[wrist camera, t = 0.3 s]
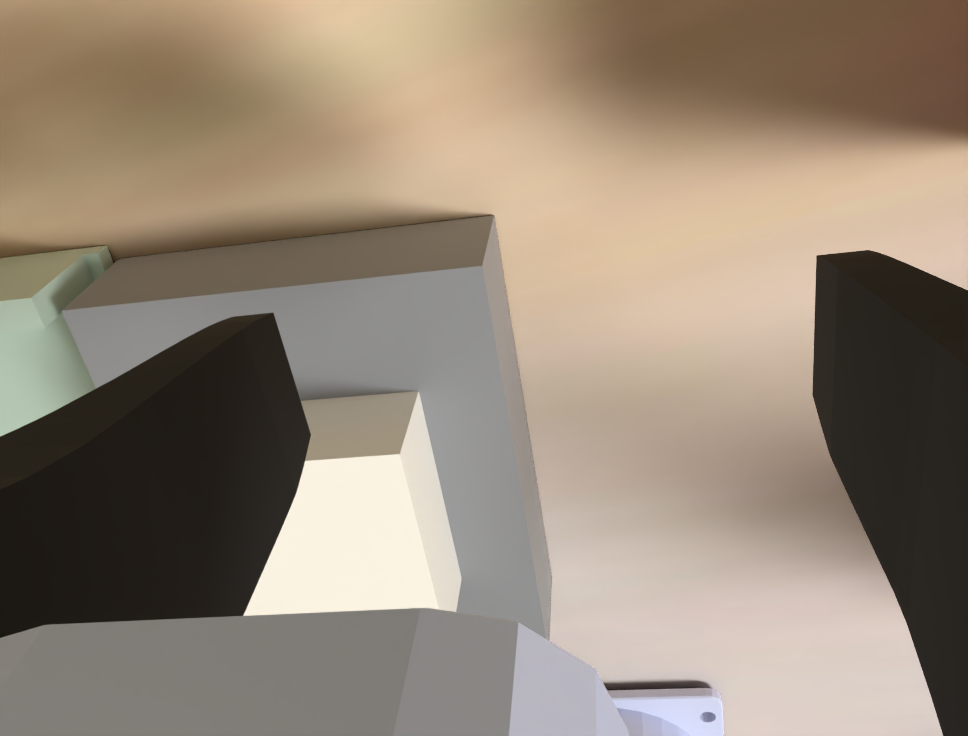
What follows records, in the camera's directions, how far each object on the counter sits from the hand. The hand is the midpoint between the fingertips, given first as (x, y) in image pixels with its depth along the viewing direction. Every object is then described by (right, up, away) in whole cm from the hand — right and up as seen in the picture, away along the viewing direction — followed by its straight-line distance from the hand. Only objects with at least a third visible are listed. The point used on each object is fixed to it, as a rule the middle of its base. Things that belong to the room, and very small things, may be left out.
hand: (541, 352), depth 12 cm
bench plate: (-4, -2, +13) cm, 14 cm away
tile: (-5, -4, +11) cm, 12 cm away
